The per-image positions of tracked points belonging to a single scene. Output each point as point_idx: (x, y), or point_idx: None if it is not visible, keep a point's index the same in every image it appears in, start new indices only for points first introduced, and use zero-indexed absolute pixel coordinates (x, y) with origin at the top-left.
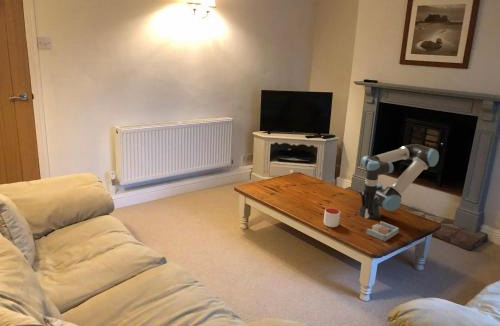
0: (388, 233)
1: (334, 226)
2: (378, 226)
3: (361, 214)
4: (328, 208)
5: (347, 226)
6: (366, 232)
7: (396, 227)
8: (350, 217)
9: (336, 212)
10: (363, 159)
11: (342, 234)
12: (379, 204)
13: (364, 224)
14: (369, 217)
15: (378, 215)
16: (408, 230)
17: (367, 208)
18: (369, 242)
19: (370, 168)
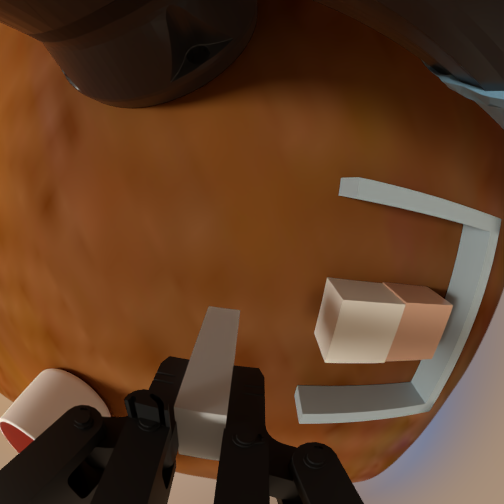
0: (447, 369)
1: None
2: (376, 338)
3: (101, 102)
4: (2, 428)
5: (139, 377)
6: (295, 401)
7: (489, 224)
8: (63, 212)
9: (31, 413)
10: None
11: (189, 458)
12: (344, 7)
13: (208, 258)
14: (184, 91)
15: (252, 17)
16: (496, 126)
17: (190, 435)
18: (341, 447)
19: None
